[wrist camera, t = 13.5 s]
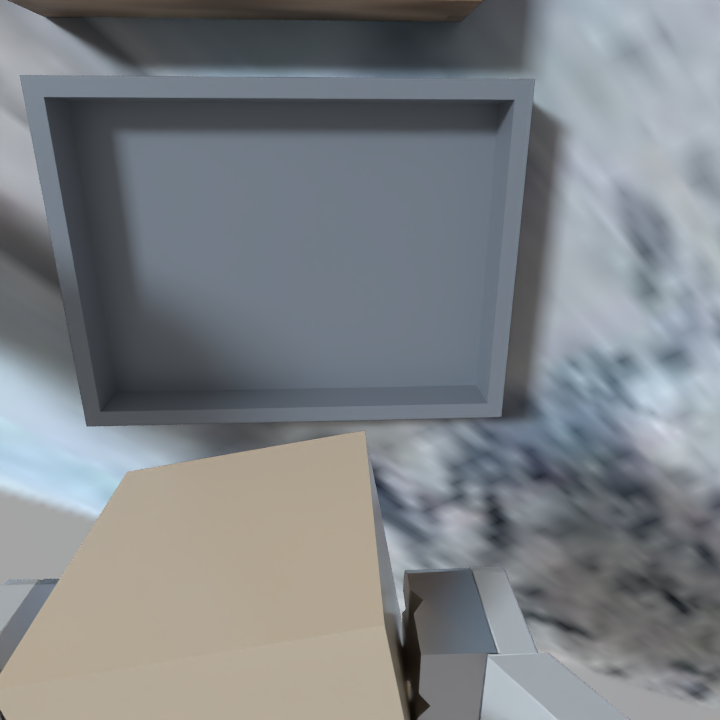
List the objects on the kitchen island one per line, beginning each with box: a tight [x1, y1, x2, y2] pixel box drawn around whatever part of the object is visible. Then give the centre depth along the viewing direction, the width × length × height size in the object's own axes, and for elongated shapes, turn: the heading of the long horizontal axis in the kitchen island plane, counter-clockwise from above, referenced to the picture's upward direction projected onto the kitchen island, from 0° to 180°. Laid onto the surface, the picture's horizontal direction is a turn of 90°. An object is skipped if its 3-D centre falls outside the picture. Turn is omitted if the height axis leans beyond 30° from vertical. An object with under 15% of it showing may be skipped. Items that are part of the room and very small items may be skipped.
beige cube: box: [0, 430, 412, 720], centre depth 8 cm, size 4×4×4 cm
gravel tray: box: [20, 75, 535, 426], centre depth 21 cm, size 16×12×2 cm
